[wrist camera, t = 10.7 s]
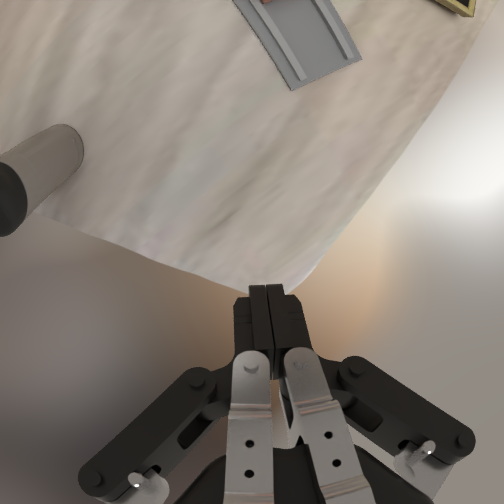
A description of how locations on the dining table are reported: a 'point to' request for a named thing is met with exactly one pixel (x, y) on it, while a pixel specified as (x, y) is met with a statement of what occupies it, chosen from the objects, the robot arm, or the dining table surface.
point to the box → (460, 6)
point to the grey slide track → (301, 37)
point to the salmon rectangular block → (265, 1)
